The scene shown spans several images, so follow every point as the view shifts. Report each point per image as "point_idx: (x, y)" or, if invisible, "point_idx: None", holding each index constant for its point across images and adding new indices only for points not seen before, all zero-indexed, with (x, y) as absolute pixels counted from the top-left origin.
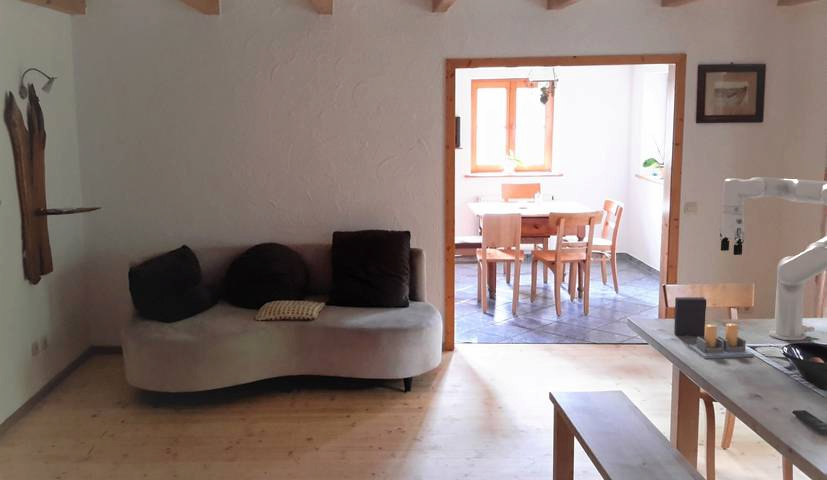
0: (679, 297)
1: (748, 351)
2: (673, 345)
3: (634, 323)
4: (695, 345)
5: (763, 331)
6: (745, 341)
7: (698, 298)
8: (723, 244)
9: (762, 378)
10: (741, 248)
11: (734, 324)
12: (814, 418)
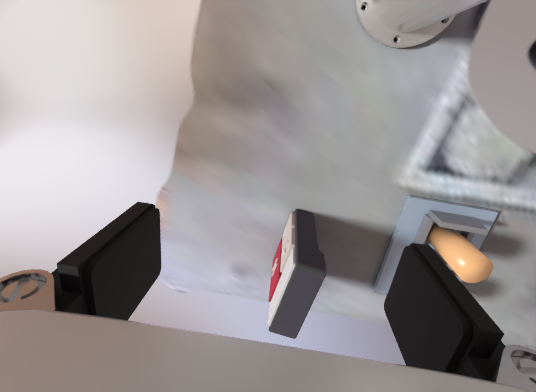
0: (274, 324)
1: (478, 212)
2: (349, 305)
3: (181, 291)
4: (385, 284)
5: (335, 31)
6: (487, 229)
7: (306, 287)
8: (127, 307)
9: None
10: (460, 295)
11: (475, 262)
12: None
